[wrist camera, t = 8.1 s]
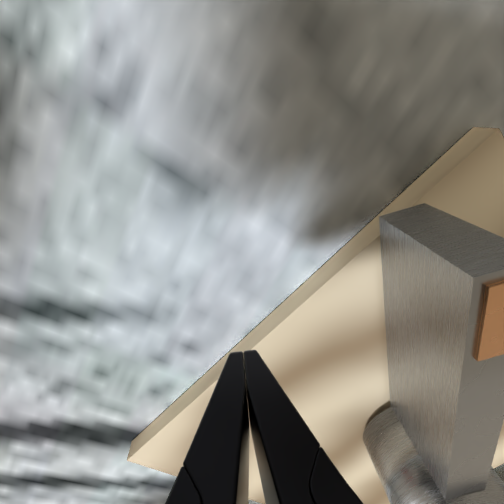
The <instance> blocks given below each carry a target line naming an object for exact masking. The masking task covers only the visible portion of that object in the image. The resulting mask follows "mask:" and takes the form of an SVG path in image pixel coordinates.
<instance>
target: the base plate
mask: <svg viewBox="0 0 504 504" xmlns="http://www.w3.org/2000/svg"><path fill="white" fill-rule="evenodd" d="M423 203H425V204H428V205H430V206H432V207H435V208H437V209H439V210H441V211H444V212H446V213H448V214H451V215H453V216H455V217H457V218H460V219H462V220H464V221H466V222H469V223H471V224H473V225H476V226H478V227H480V228H482V229H485V230H487V231H489V232H491V233H494V234H496V235H498V236H501V237H503V238H504V137H503V135H502V133H501V131H500V129H499V128H482V127H473V128H472V129H471V130H470V131H469V132H468V133H467V134H465V135H464V136H463V137H462V138H461V139H460V140H459V141H458V142H457V143H456V144H455V145H453V146H452V147H451V148H450V149H449V150H448V151H447V152H446V153H445V154H444V155H443V156H441V157H440V158H439V159H438V160H437V161H436V162H435V163H434V164H433V165H432V166H431V167H430V168H428V169H427V170H426V171H425V172H424V173H423V174H422V175H421V176H420V177H419V178H418V179H416V180H415V181H414V182H413V183H412V184H411V185H410V186H409V187H408V188H407V189H406V190H404V191H403V192H402V193H401V194H400V195H399V196H398V197H397V198H396V199H395V200H394V201H393V202H391V203H390V204H389V205H388V206H387V207H386V208H385V209H384V210H383V211H382V212H381V213H379V214H378V215H377V216H376V217H375V218H374V219H373V220H372V221H371V222H370V223H369V224H368V225H366V226H365V227H364V228H363V229H362V230H361V231H360V232H359V233H358V234H357V235H356V236H354V237H353V238H352V239H351V240H350V241H349V242H348V243H347V244H346V245H345V246H344V247H342V248H341V249H340V250H339V251H338V252H337V253H336V254H335V255H334V256H333V257H332V258H331V259H329V260H328V261H327V262H326V263H325V264H324V265H323V266H322V267H321V268H320V269H319V270H317V271H316V272H315V273H314V274H313V275H312V276H311V277H310V278H309V279H308V280H307V281H305V282H304V283H303V284H302V285H301V286H300V287H299V288H298V289H297V290H296V291H295V292H294V293H292V294H291V295H290V296H289V297H288V298H287V299H286V300H285V301H284V302H283V303H282V304H280V305H279V306H278V307H277V308H276V309H275V310H274V311H273V312H272V313H271V314H270V315H268V316H267V317H266V318H265V319H264V320H263V321H262V322H261V323H260V324H259V325H258V326H257V327H255V328H254V329H253V330H252V331H251V332H250V333H249V334H248V335H247V336H246V337H245V338H243V339H242V340H241V341H240V342H239V343H238V344H237V345H236V346H235V347H234V348H233V349H232V350H230V351H229V352H228V353H227V354H226V355H225V356H224V357H223V358H222V359H221V360H220V361H218V362H217V363H216V364H215V365H214V366H213V367H212V368H211V369H210V370H209V371H208V372H206V373H205V374H204V375H203V376H202V377H201V378H200V379H199V380H198V381H197V382H196V383H195V384H193V385H192V386H191V387H190V388H189V389H188V390H187V391H186V392H185V393H184V394H183V395H181V396H180V397H179V398H178V399H177V400H176V401H175V402H174V403H173V404H172V405H171V406H169V407H168V408H167V409H166V410H165V411H164V412H163V413H162V414H161V415H160V416H159V417H158V418H156V419H155V420H154V421H153V422H152V423H151V424H150V425H149V426H148V427H147V428H146V429H144V430H143V431H142V432H141V433H140V434H139V435H138V436H137V437H136V438H135V439H134V440H132V443H131V447H130V450H129V454H128V458H127V461H130V462H133V463H136V464H139V465H143V466H146V467H149V468H152V469H155V470H158V471H161V472H165V473H168V474H171V475H174V476H178V473H179V471H180V469H181V467H182V466H183V462H184V459H185V457H186V455H187V452H188V450H189V448H190V445H191V443H192V441H193V438H194V436H195V433H196V431H197V429H198V426H199V424H200V422H201V419H202V417H203V415H204V412H205V410H206V407H207V405H208V403H209V400H210V398H211V396H212V393H213V391H214V389H215V386H216V384H217V381H218V379H219V377H220V374H221V372H222V370H223V367H224V365H225V362H226V360H227V358H228V355H229V354H230V353H231V352H238V351H242V352H244V351H247V350H256V351H257V352H258V353H259V354H260V356H261V357H262V359H263V360H264V362H265V363H266V365H267V366H268V368H269V369H270V371H271V372H272V374H273V375H274V377H275V378H276V380H277V381H278V383H279V384H280V386H281V387H282V389H283V390H284V392H285V393H286V395H287V396H288V397H289V399H290V400H291V402H292V403H293V405H294V406H295V408H296V409H297V411H298V412H299V414H300V415H301V417H302V418H303V420H304V421H305V423H306V424H307V426H308V427H309V429H310V430H311V432H312V433H313V435H314V436H315V437H316V439H317V440H318V442H319V443H320V447H322V448H323V449H324V451H325V452H326V454H327V455H328V457H329V458H330V459H331V461H332V462H333V464H334V465H335V467H336V468H337V469H338V471H339V472H340V474H341V475H342V476H343V478H344V479H345V481H346V482H347V483H348V485H349V486H350V487H351V488H352V490H353V491H354V492H355V493H356V495H357V496H358V497H359V498H360V500H361V501H362V502H363V503H364V504H390V502H389V500H388V497H387V495H386V493H385V490H384V488H383V486H382V484H381V481H380V479H379V477H378V474H377V472H376V470H375V467H374V465H373V463H372V460H371V458H370V456H369V454H368V451H367V449H366V447H365V444H364V442H363V432H364V430H365V428H366V426H367V425H368V424H369V422H370V421H371V420H372V419H373V418H374V417H376V416H377V415H378V414H379V413H381V412H382V411H384V410H386V409H388V408H390V407H391V406H390V393H389V376H388V359H387V343H386V326H385V309H384V293H383V276H382V259H381V243H380V226H379V216H382V215H385V214H389V213H392V212H396V211H399V210H402V209H406V208H409V207H413V206H416V205H419V204H423ZM243 358H244V356H243ZM244 368H245V367H244ZM245 379H246V378H245ZM246 390H247V389H246ZM247 402H248V400H247ZM248 413H249V411H248ZM249 426H250V421H249ZM503 463H504V421H503V425H502V428H501V432H500V436H499V439H498V443H497V447H496V451H495V454H494V458H493V462H492V465H491V466H492V467H493V469H494V468H496V467H498V466H500V465H502V464H503ZM248 499H250V500H253V501H256V502H259V503H262V504H266V503H265V498H264V493H263V488H262V483H261V478H260V474H259V469H258V464H257V459H256V454H255V449H254V444H253V440H252V434H251V429H250V443H249V496H248Z"/></svg>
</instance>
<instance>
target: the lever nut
mask: <svg viewBox="0 0 504 504" xmlns="http://www.w3.org/2000/svg"><path fill="white" fill-rule="evenodd" d="M379 226H380V243H381V259H382V276H383V293H384V309H385V326H386V343H387V359H388V376H389V393H390V406H391V407H390V408H388V409H386V410H384V411H382V412H381V413H379V414H378V415H377V416H376V417H374V418H373V419H372V420H371V421H370V422H369V424H368V425H367V426H366V428H365V430H364V432H363V442H364V444H365V447H366V449H367V451H368V454H369V456H370V458H371V460H372V463H373V465H374V467H375V470H376V472H377V474H378V477H379V479H380V481H381V484H382V486H383V488H384V490H385V493H386V495H387V497H388V500H389V502H390V504H504V482H503V480H502V479H501V478H500V476H499V475H498V474H497V473H496V471H495V470H494V469H493V467H492V466H491V465H492V462H493V458H494V454H495V451H496V447H497V443H498V439H499V436H500V432H501V428H502V425H503V421H504V238H503V237H501V236H498V235H496V234H494V233H491V232H489V231H487V230H485V229H482V228H480V227H478V226H476V225H473V224H471V223H469V222H466V221H464V220H462V219H460V218H457V217H455V216H453V215H451V214H448V213H446V212H444V211H441V210H439V209H437V208H435V207H432V206H430V205H428V204H425V203H423V204H419V205H416V206H413V207H409V208H406V209H402V210H399V211H396V212H392V213H389V214H385V215H382V216H379Z"/></svg>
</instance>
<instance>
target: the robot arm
mask: <svg viewBox="0 0 504 504" xmlns="http://www.w3.org/2000/svg"><path fill="white" fill-rule="evenodd" d="M243 356H244V358H243ZM244 367H245V368H244ZM245 378H246V379H245ZM246 389H247V390H246ZM247 400H248V402H247ZM248 411H249V413H248ZM249 421H250V426H249ZM250 429H251V434H252V440H253V444H254V449H255V454H256V459H257V464H258V469H259V474H260V478H261V483H262V488H263V493H264V498H265V503H266V504H364V503H363V502H362V501H361V500H360V498H359V497H358V496H357V495H356V493H355V492H354V491H353V490H352V488H351V487H350V486H349V485H348V483H347V482H346V481H345V479H344V478H343V476H342V475H341V474H340V472H339V471H338V469H337V468H336V467H335V465H334V464H333V462H332V461H331V459H330V458H329V457H328V455H327V454H326V452H325V451H324V449H323V448H322V447H320V443H319V442H318V440H317V439H316V437H315V436H314V435H313V433H312V432H311V430H310V429H309V427H308V426H307V424H306V423H305V421H304V420H303V418H302V417H301V415H300V414H299V412H298V411H297V409H296V408H295V406H294V405H293V403H292V402H291V400H290V399H289V397H288V396H287V395H286V393H285V392H284V390H283V389H282V387H281V386H280V384H279V383H278V381H277V380H276V378H275V377H274V375H273V374H272V372H271V371H270V369H269V368H268V366H267V365H266V363H265V362H264V360H263V359H262V357H261V356H260V354H259V353H258V352H257V351H256V350H247V351H244V352H242V351H238V352H231V353H230V354H229V355H228V358H227V360H226V362H225V365H224V367H223V370H222V372H221V374H220V377H219V379H218V381H217V384H216V386H215V389H214V391H213V393H212V396H211V398H210V400H209V403H208V405H207V407H206V410H205V412H204V415H203V417H202V419H201V422H200V424H199V426H198V429H197V431H196V433H195V436H194V438H193V441H192V443H191V445H190V448H189V450H188V452H187V455H186V457H185V459H184V462H183V466H182V467H181V469H180V471H179V473H178V476H177V478H176V480H175V483H174V485H173V487H172V489H171V492H170V494H169V496H168V498H167V501H166V503H165V504H248V496H249V443H250Z"/></svg>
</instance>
